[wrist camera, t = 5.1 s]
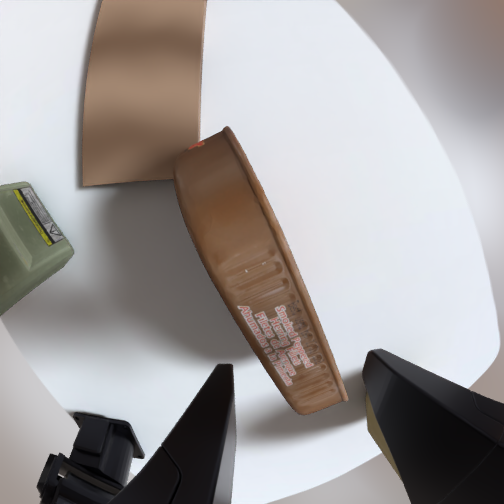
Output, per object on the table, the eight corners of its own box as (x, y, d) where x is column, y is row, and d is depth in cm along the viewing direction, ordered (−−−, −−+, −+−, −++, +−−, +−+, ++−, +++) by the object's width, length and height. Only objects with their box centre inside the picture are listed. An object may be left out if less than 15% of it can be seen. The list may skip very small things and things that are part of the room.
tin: (319, 336, 20) (369, 421, 12) (280, 355, 20) (314, 447, 12) (229, 132, 15) (249, 102, 7) (177, 157, 15) (140, 155, 7)
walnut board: (199, 177, 16) (197, 178, 15) (91, 185, 15) (83, 186, 14) (210, -33, 11) (209, -42, 10) (115, -19, 11) (110, -27, 10)
